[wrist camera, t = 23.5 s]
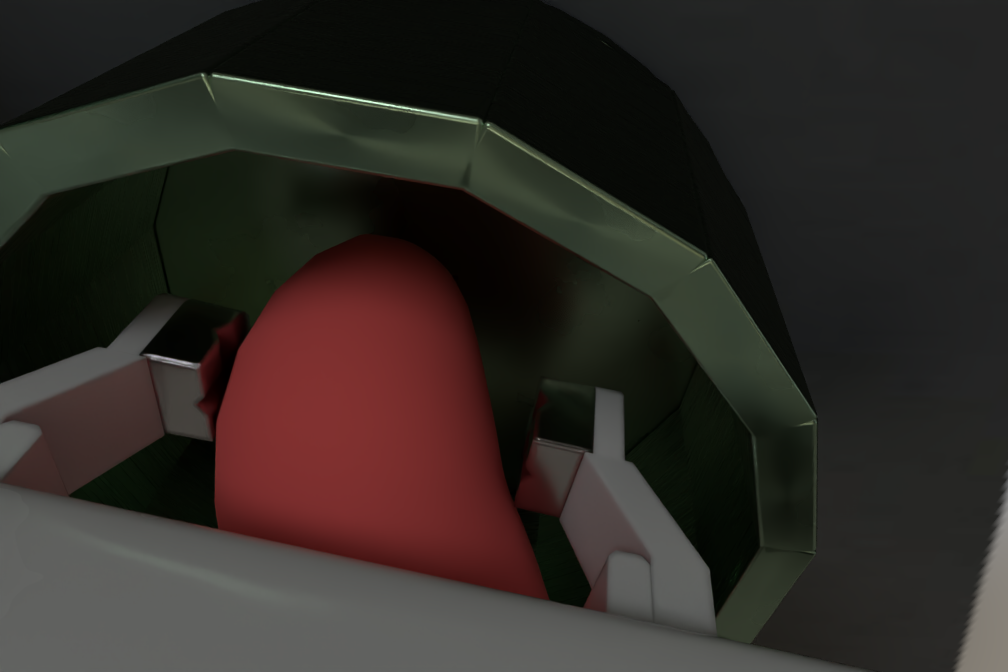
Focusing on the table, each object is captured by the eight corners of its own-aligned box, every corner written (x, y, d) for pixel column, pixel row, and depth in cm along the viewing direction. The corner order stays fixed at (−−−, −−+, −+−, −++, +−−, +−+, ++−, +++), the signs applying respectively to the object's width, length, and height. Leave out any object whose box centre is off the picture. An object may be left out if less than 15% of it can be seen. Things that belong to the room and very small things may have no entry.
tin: (650, 535, 19) (662, 766, 15) (191, 451, 20) (59, 652, 15) (867, 44, 11) (1063, 218, 6) (55, -92, 11) (-350, -24, 6)
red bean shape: (310, 594, 16) (296, 884, 11) (183, 249, 12) (58, 432, 7) (513, 539, 17) (598, 785, 12) (454, 197, 13) (541, 323, 8)
